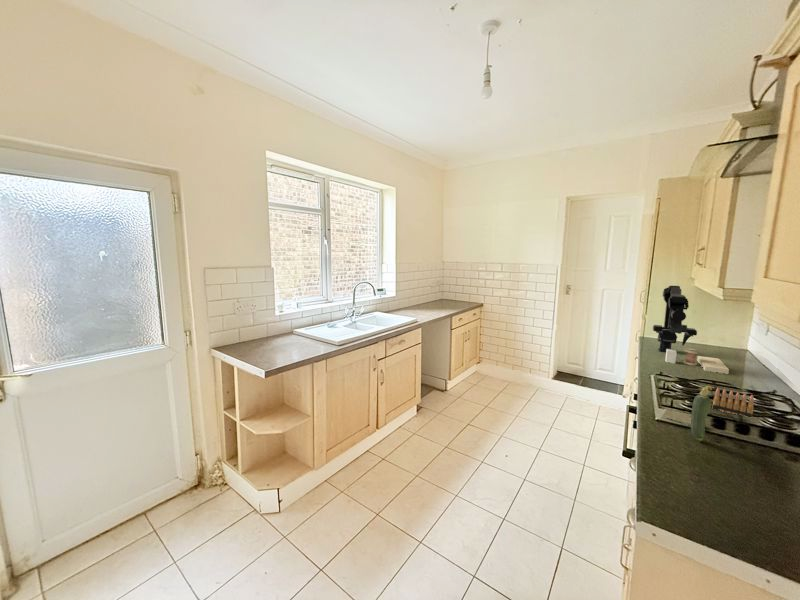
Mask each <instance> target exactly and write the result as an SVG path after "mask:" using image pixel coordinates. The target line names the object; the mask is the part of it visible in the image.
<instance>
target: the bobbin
mask: <svg viewBox="0 0 800 600" xmlns="http://www.w3.org/2000/svg"><path fill="white" fill-rule="evenodd" d="M684 352H686V355H685V360H683V361H682V363H683V364H684V365H688V366H698V361H697V354H699V353H700V351H699V350H697V349H694V348H684ZM696 361H697V362H696Z"/></svg>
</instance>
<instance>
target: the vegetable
mask: <svg viewBox="0 0 800 600" xmlns="http://www.w3.org/2000/svg"><path fill="white" fill-rule="evenodd" d="M709 391H713V388H712V386H711V385H706V386H704V387H703V388H702V389H701V391H699V394H697V395H696V396H695V397H694V399H693V401H692V408H691V416H690V417H691V426H690V430H691V435H692V437H694V439H696V440H697V439H698V440H700V441H699V442H702V441H703V440H704V437H705V432H706V431H705V429H706V424H705V422H706V418H707V416H708V414H709V413H710V410H711V408H712V407H711V406H712V400H711V399H710V397H709V396H708V395H709Z"/></svg>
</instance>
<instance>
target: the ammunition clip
mask: <svg viewBox="0 0 800 600" xmlns="http://www.w3.org/2000/svg"><path fill="white" fill-rule="evenodd" d="M720 391H721V390H720V387H717V388H716V390H715V392H714V393H715V394H714V396H713V402H712V405H711V406H712V407H711V410H712V409H716V410H720V411H722V412H727V413H731V414H736V415H737V414H739V415H745V416H748V417H752V418H753V413H754V406H755V405H754V402H755V398H754V395H753V394H751V395H750V396H749V399H748V397H747V393H743V395H742V397H741V395H740V391H737V393H736V394H735V396H734V393H733V390H730V392H729V393H728V395H727V390H726V388H724V389H723V390H722V392H720ZM720 394H721V395H720ZM720 396H721V397H720ZM727 396H728V397H727ZM740 398H741V400H740ZM747 400H748V403H747Z"/></svg>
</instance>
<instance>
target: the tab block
mask: <svg viewBox="0 0 800 600" xmlns="http://www.w3.org/2000/svg"><path fill="white" fill-rule="evenodd" d="M676 359H677V350H676V349H672V348H671V349H667V350H666V352H665V358H664V360H665V362H666V363H668V362H670V363H669V364H676Z"/></svg>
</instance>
